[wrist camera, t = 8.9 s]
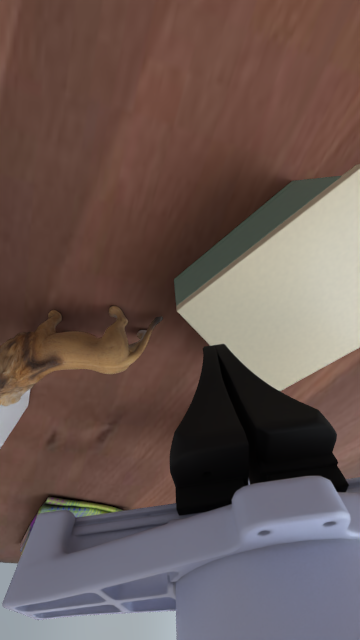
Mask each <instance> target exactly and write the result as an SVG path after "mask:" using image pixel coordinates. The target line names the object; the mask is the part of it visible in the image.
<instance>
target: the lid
mask: <svg viewBox="0 0 360 640" xmlns="http://www.w3.org/2000/svg"><path fill="white" fill-rule="evenodd" d="M176 309H177V312H178V313H179V314H180V315H181V316H182V317H183V318H184V319H185V320H186V321H187V322H188V323H189V324H190V325H191V326H192V327H193V328H194V329H195V330H196V331H197V332H198V333H199V334H200V336H201V337H202V338H203V339H204V340H205V341H206V342H207V343H208V344H209V345H210V346H212V345H218V344H225V345H226V346H227V347H228V348H229V350H230V351H231V352H232V353H233V354H234V355H235V356H236V357H237V358H238V359H239V360H240V361H241V362H242V363H243V364H244V365H245V366H246V367H247V368H248V369H249V370H250V371H252V372H253V373H254V374H255V375H256V376H258V377H259V378H260V379H262V380H263V381H265V382H266V383H267V384H269V385H270V386H272V387H273V388H275V389H277V390H278V391H281V390H283V389H285V388H287V387H288V386H290V385H292V384H294V383H296V382H297V381H299V380H301V379H303V378H305V377H307V376H308V375H310V374H312V373H314V372H316V371H317V370H319V369H321V368H323V367H325V366H327V365H328V364H330V363H332V362H334V361H336V360H337V359H339V358H341V357H343V356H345V355H347V354H348V353H350V352H352V351H354V350H356V349H357V348H359V347H360V164H358V165H355V166H354V167H353V168H352V169H350V170H349V171H348V172H347V173H345V174H344V175H343V176H341V177H340V178H339V179H338V180H336V181H335V182H334V183H333V184H331V185H330V186H329V187H327V188H326V189H325V190H324V191H322V192H321V193H320V194H319V195H317V196H316V197H315V198H313V199H312V200H311V201H310V202H308V203H307V204H306V205H304V206H303V207H302V208H301V209H299V210H298V211H297V212H296V213H294V214H293V215H292V216H290V217H289V218H288V219H287V220H285V221H284V222H283V223H282V224H280V225H279V226H278V227H276V228H275V229H274V230H273V231H271V232H270V233H269V234H268V235H266V236H265V237H264V238H262V239H261V240H260V241H259V242H257V243H256V244H255V245H254V246H252V247H251V248H250V249H248V250H247V251H246V252H245V253H243V254H242V255H241V256H240V257H238V258H237V259H236V260H234V261H233V262H232V263H231V264H229V265H228V266H227V267H226V268H224V269H223V270H222V271H220V272H219V273H218V274H217V275H215V276H214V277H213V278H212V279H210V280H209V281H208V282H206V283H205V284H204V285H203V286H201V287H200V288H199V289H198V290H196V291H195V292H194V293H192V294H191V295H190V296H189V297H187V298H186V299H185V300H184V301H182V302H181V303H180V304H178V305H177V306H176Z"/></svg>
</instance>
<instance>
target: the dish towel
mask: <svg viewBox="0 0 360 640" xmlns="http://www.w3.org/2000/svg"><path fill="white" fill-rule="evenodd" d="M59 510H68V511H71V512H72V513H73V514H74V516H75V517H83V516H90V515H97V514H105V513H112V512H119V511H123V510H121V509H118V508H115V507H111V506H107V505H102V504H97V503H89V502H82V501H73V500H67V499H61V498H53V497H48V499H47V500H46V502H45V503H44V504H43V505H42V507H40V509H39V512H38V513H37V515H38V514H40V513H45V512H52V511H59ZM37 515H36V516H35V518H34V519H33V521H32V523H31V524H30V526H29V528H28V530H27V532H26V534H25V536H24V538H23V540H22V543H21V544H20V546H21V549H20V551H21V552H22V553H23V550H24V548H25V545H26V543H27V540H28V538H29V535H30V533H31V530H32V528H33V525H34V523H35V520H36V518H37ZM22 553H21V555H22Z"/></svg>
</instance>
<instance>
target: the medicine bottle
mask: <svg viewBox="0 0 360 640" xmlns="http://www.w3.org/2000/svg"><path fill="white" fill-rule="evenodd" d="M29 395H30V390H28V391H27V392H25V394H24V395H22V396H21V399H20V400H19V402H17V403H15V404H11V405H9V406H3V405H1V406H0V448H1V446H2V445H3V443H4V442H5V440H6V439H7V437H8V436H9V434H10V433H11V431H12V430H13V428H14V427H15V425H16V423H17V422H18V420H19V419H20V417H21V416H22V414H23V413H24V411H25V410H26V408H27V407H28V403H29Z"/></svg>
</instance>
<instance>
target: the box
mask: <svg viewBox="0 0 360 640" xmlns="http://www.w3.org/2000/svg"><path fill="white" fill-rule="evenodd" d="M340 177H341V176H335V177H325V178H316V179H307V180H298V181H297V180H295V181H292V182H290V183H289V184H288V185H287V186H286V187H284V188H283V189H282V190H281V191H279V192H278V193H277V194H276V195H275V196H273V197H272V198H271V199H270V200H269V201H267V202H266V203H265V204H264V205H263V206H261V207H260V208H259V209H258V210H257V211H255V212H254V213H253V214H252V215H251V216H249V217H248V218H247V219H246V220H245V221H243V222H242V223H241V224H240V225H239V226H237V227H236V228H235V229H234V230H233V231H231V232H230V233H229V234H228V235H227V236H225V237H224V238H223V239H222V240H221V241H219V242H218V243H217V244H216V245H215V246H213V247H212V248H211V249H210V250H209V251H207V252H206V253H205V254H204V255H203V256H201V257H200V258H199V259H198V260H196V261H195V262H194V263H193V264H192V265H190V266H189V267H188V268H187V269H186V270H184V271H183V272H182V273H181V274H180V275H178V276H177V277H176V278H175V279H174V286H175V297H176V306H177V305H178V304H180V303H181V302H182V301H184V300H185V299H186V298H187V297H189V296H190V295H191V294H192V293H194V292H195V291H196V290H198V289H199V288H200V287H201V286H203V285H204V284H205V283H206V282H208V281H209V280H210V279H212V278H213V277H214V276H215V275H217V274H218V273H219V272H220V271H222V270H223V269H224V268H226V267H227V266H228V265H229V264H231V263H232V262H233V261H234V260H236V259H237V258H238V257H240V256H241V255H242V254H243V253H245V252H246V251H247V250H248V249H250V248H251V247H252V246H254V245H255V244H256V243H257V242H259V241H260V240H261V239H262V238H264V237H265V236H266V235H268V234H269V233H270V232H271V231H273V230H274V229H275V228H276V227H278V226H279V225H280V224H282V223H283V222H284V221H285V220H287V219H288V218H289V217H290V216H292V215H293V214H294V213H296V212H297V211H298V210H299V209H301V208H302V207H303V206H304V205H306V204H307V203H308V202H310V201H311V200H312V199H313V198H315V197H316V196H317V195H319V194H320V193H321V192H322V191H324V190H325V189H326V188H327V187H329V186H330V185H331V184H333V183H334V182H335V181H336V180H338V179H339V178H340Z"/></svg>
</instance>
